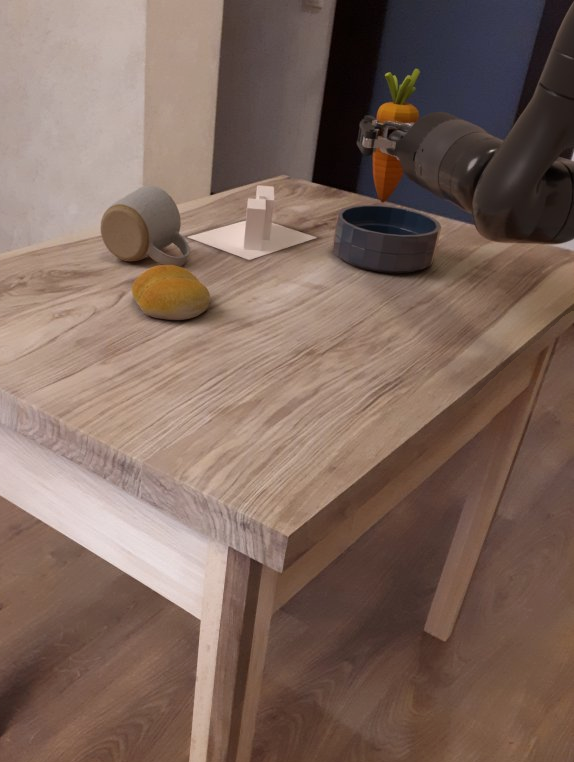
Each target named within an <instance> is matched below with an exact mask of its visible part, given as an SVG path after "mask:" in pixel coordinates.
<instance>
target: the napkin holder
mask: <svg viewBox="0 0 574 762" xmlns="http://www.w3.org/2000/svg"><path fill="white" fill-rule="evenodd" d="M246 204H247V205H246V214H245V220H243V221H239V222H235V223H232V224H228V225H225V226H221V227H218V228H214V229H210V230H206V231H202V232H200V233H196V234H192V235H188V236H187V238H189V239H191V240H193V241H196V242H199V243H201V244H205V245H206V246H210V247H213V248H216V249H218V250H221V251H224V252H226V253H229V254H231V255H235V256H237V257H240V258H243V259H245V260H247V261H251V260H253V259H257V258H260V257H263V256H266V255H268V254H272V253H275V252H278V251H281V250H284V249H287V248H291V247H293V246H296V245H299V244H302V243H306V242H309V241H312V240H314V239H317V238H318V237H317V236H314V235H311V234H308V233H304V232H301V231H298V230H296V229H293V228H291V227H287V226H283V225H280V224H277V223H274V222H273V214H274V205H275V187H274V186H271V185H258V184H257V185H256V193H255V198H252V197H251V198H250V197H248V198H247V203H246Z"/></svg>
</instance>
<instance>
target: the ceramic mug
mask: <svg viewBox="0 0 574 762" xmlns="http://www.w3.org/2000/svg"><path fill="white" fill-rule="evenodd" d="M181 226H182V225H181V214H180V211H179V208H178V206H177V204H176V202H175V201H174V199H173V198H172V196H171V195H170V194H169V193H168V192H167V191H165V190H164V189H162V188H161V187H158V186H155V185H143V186H140V187H139V188H137V189H135V190H134V191H132V192H131V193H128V194H127V195H125V196H124V197H122V198H120V199H118V200H117V201H115V202H113V203H112V204H111V205H110V206H109V207H108V208H107V209H106V210H105V212H104V213H103V215H102V217H101V220H100V236H101V239H102V241H103V244H104V246H105V247H106V248H107V250H108V251H109V252H110V254H111V255H113V256H114V257H116V258H117V259H118V260H121V261H125V262H136V261H141V260H144V259H145V258H147V257H150V258H151V259H152V261H155V262H157V263H158V264H159V265H175V266H178V267H182V266H183V265H185V264H186V263H187V261H188V259H189V257H190V255H191V247H190V245H189V243H188V241H187V240H186V239H185V238H184V236H183V235H182V234H181V233H180V231H181ZM172 244H174V246H176V247H177V248H178V249H179V251H180V252H181V254H182V255H183V256H173V255H170V254H167V253H165V252H163V251H162V250H164V249H165V248H167V247H169V246H171V245H172Z"/></svg>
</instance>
